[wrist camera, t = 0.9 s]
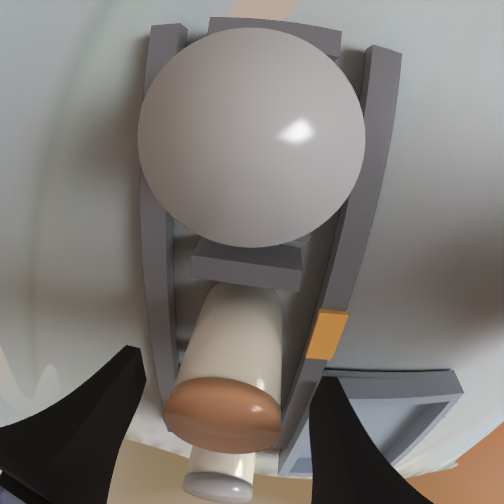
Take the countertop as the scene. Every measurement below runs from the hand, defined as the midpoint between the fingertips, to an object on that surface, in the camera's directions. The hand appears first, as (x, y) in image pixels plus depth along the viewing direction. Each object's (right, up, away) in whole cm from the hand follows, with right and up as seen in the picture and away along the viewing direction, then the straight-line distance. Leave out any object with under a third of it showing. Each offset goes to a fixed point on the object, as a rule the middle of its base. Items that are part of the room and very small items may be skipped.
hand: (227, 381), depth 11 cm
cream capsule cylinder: (+1, +10, 0) cm, 10 cm away
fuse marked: (0, +2, +4) cm, 5 cm away
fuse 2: (-1, -6, +8) cm, 10 cm away
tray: (+9, -8, +8) cm, 15 cm away
